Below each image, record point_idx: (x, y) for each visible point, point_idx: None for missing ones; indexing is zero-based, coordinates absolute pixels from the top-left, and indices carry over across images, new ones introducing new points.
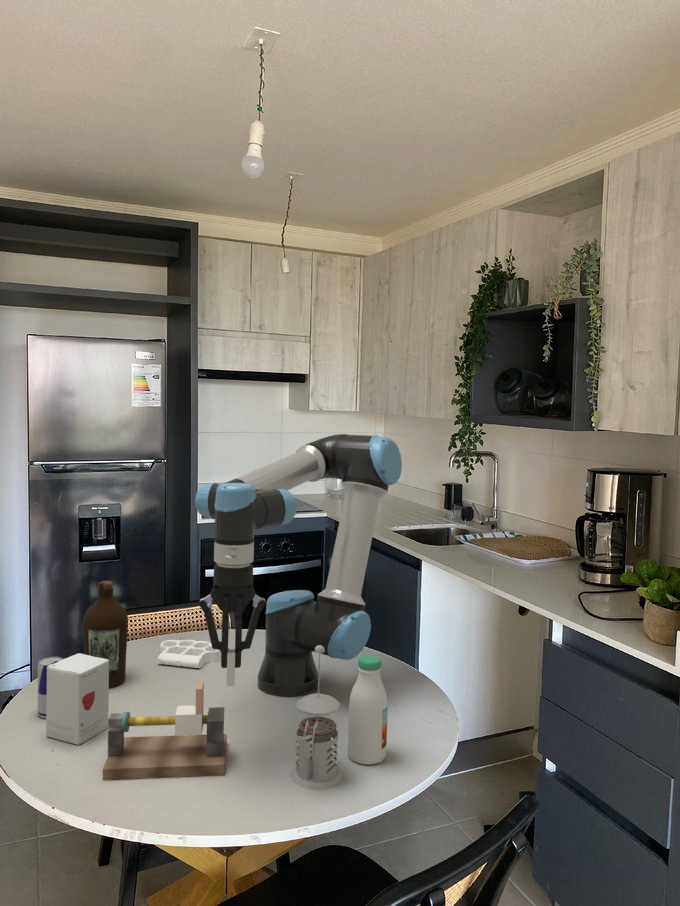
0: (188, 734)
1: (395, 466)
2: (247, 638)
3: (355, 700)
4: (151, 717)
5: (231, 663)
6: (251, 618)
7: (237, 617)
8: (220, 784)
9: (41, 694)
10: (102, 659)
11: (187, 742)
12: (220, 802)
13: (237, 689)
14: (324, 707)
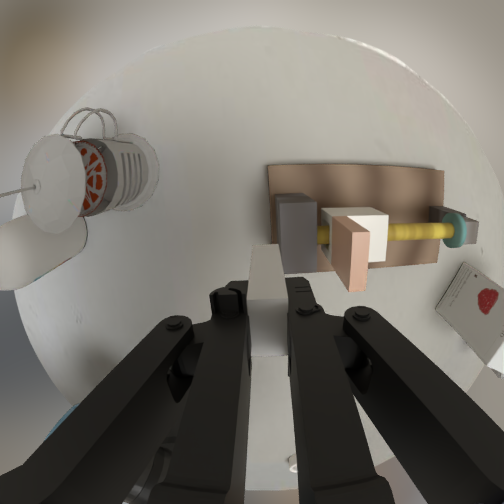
0: (346, 207)
1: None
2: (163, 352)
3: (17, 237)
4: (423, 232)
5: (264, 275)
6: (115, 466)
7: (207, 491)
8: (270, 137)
9: None
10: (493, 363)
11: None
12: (264, 90)
13: (267, 410)
14: (34, 153)
